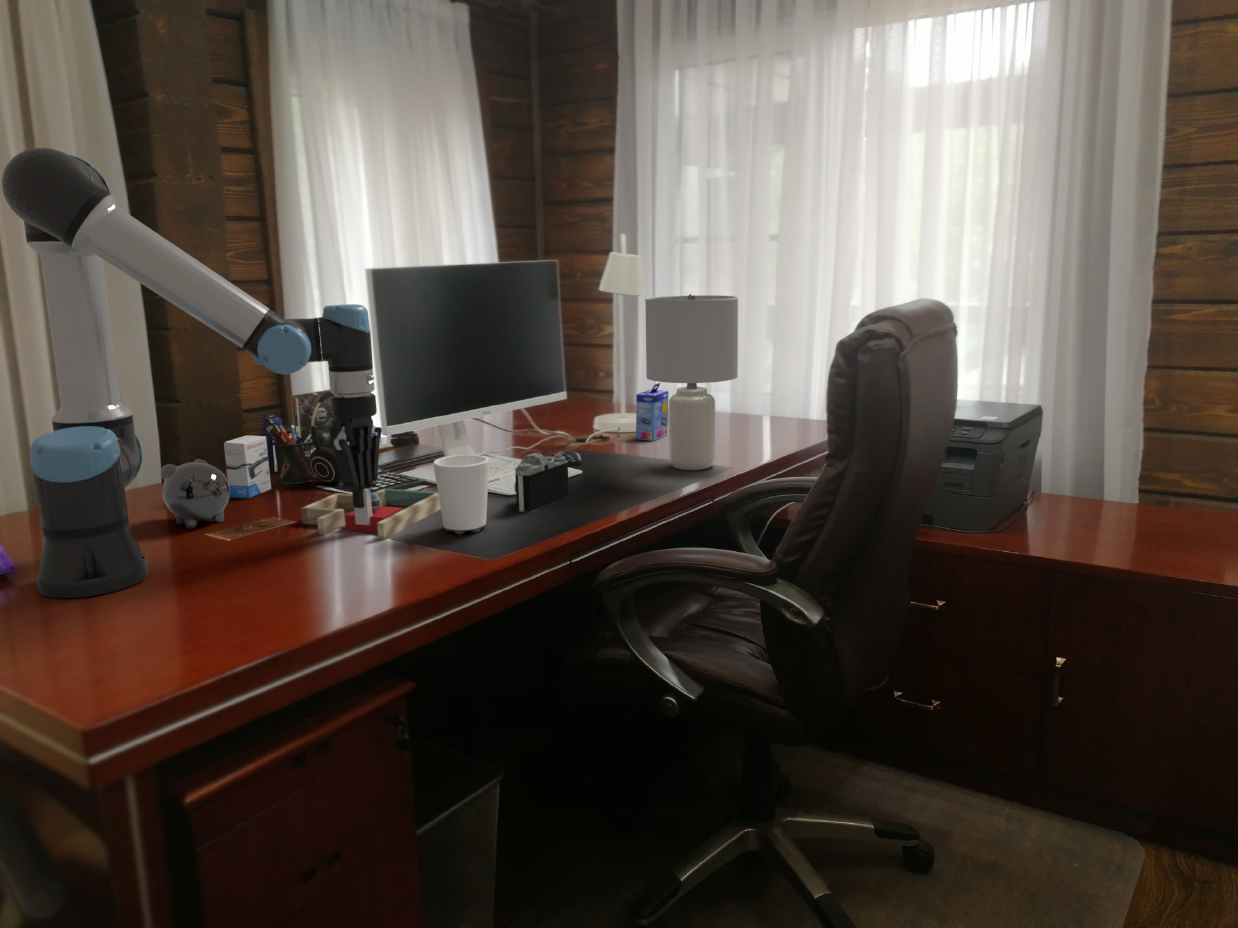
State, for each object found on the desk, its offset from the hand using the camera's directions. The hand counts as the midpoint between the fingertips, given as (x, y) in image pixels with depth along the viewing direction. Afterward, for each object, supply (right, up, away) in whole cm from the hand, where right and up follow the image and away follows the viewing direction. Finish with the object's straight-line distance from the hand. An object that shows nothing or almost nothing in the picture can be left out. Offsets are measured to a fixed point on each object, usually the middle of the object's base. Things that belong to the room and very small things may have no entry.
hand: (364, 523), depth 171 cm
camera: (+30, +3, +18) cm, 35 cm away
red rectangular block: (+1, -1, +3) cm, 4 cm away
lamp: (+63, +10, +46) cm, 78 cm away
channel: (-1, 0, +8) cm, 8 cm away
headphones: (-16, +7, +40) cm, 43 cm away
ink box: (-32, +4, +29) cm, 43 cm away
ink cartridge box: (+55, +17, +80) cm, 98 cm away
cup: (+18, -1, 0) cm, 18 cm away
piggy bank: (-33, -1, +8) cm, 34 cm away
